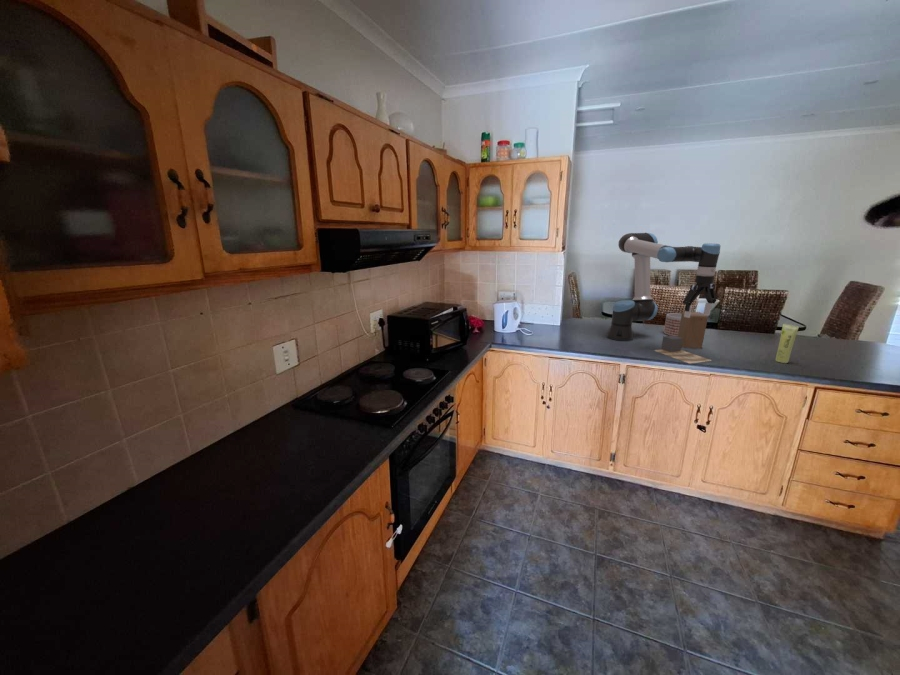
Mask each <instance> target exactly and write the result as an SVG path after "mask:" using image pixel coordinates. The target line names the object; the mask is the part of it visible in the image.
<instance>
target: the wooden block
mask: <svg viewBox="0 0 900 675" xmlns="http://www.w3.org/2000/svg"><path fill="white" fill-rule="evenodd" d="M684 313H685V311H682V312H681V314H682V316H681V321H680V327H679V332H678V337H680V338H683V340H682V345H681V348H685V349H686V348H687V349H700V350H701V349H703V343H704V339H705V335H706V334H705V333H706V328H707V323H708V320H709V319H708V318H709V316H707V315H703V314H704V312H703V313H702V312H700V311H691V314H690V318H687V317H684Z"/></svg>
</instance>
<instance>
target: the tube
mask: <svg viewBox="0 0 900 675" xmlns="http://www.w3.org/2000/svg"><path fill="white" fill-rule="evenodd" d="M781 327H782V328H781V334H780V337H779V343H778V347H777V351H776V355H775V362H778V363H782V364H787V363H789V362H790V357H791V354H792V349H793V347H794V343H795V340H796V337H797V334H798V331H799V328H800V326H798V325H793V324H788V323H782V326H781Z"/></svg>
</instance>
